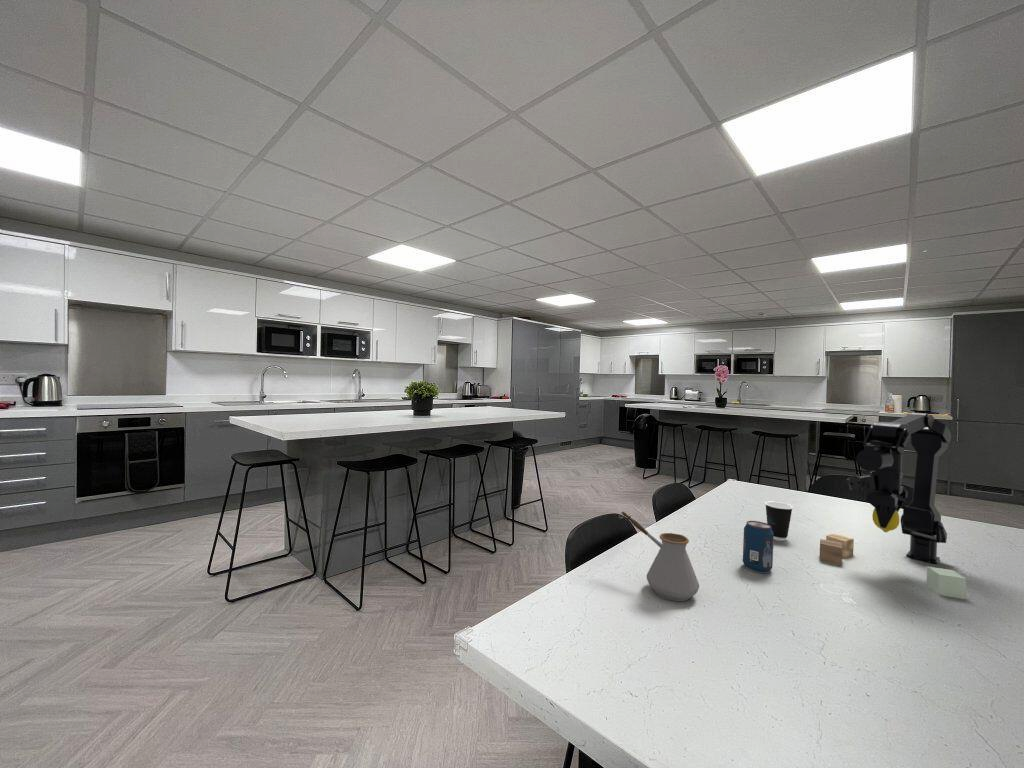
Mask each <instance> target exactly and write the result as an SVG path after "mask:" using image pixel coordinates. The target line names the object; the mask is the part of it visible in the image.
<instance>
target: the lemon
mask: <svg viewBox="0 0 1024 768" xmlns="http://www.w3.org/2000/svg"><path fill="white" fill-rule="evenodd" d="M871 517H872V521H873V523H874V525H875V526H876V527H877V528H879V529H880V530H881V531H882V532H883V533H888V532H890V531H894V530H896V529H897V528H899V527H898V526H899V525H900V515H899V511H898V512H897V510H896V511H895V513H894V515H893V516H892V518H891V520H890V522H889V523H888V525H887V527H886V528H882V527H880V524H879V520H878V516H877V513H876V510H875V508H873V510H872V516H871Z"/></svg>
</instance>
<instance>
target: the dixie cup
mask: <svg viewBox="0 0 1024 768" xmlns="http://www.w3.org/2000/svg"><path fill="white" fill-rule="evenodd" d="M764 505H765V514H766V523H767V524H769V525H770V526H771V529H772V531H773V533H774V536H773V541H774V540H776V541H780V542H785V541H787V538H788V536H789V531H790V530H789V529H790V524H791V523H790V522H791V517H792V512H793V508H794V506H792V504H788V503H785V502H779V501H772V500H771V501H765V502H764Z"/></svg>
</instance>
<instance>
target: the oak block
mask: <svg viewBox="0 0 1024 768" xmlns="http://www.w3.org/2000/svg"><path fill="white" fill-rule="evenodd" d="M854 539H855V538H852V537H849V536H845V535H842V534H838V533H830V534H827V535H825V540H829V541H834V542H839V543H842V558H845V559H846V558H848V557H849V558H850V557H852V556H854V541H855V540H854Z"/></svg>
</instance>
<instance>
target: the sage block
mask: <svg viewBox="0 0 1024 768" xmlns="http://www.w3.org/2000/svg"><path fill="white" fill-rule="evenodd" d="M966 582H967V578H966V577H964V576H963V575H962V574H960V573H958V572H957V571H955V570H953V569H947V568H941V567H933V566H926V583H925V585H926V587H928V589H930V590H931V591H933V592H934V593H935V594H937V595H939V596H944V597H950V598H951V597H952V598H956V599H962V600H966V589H967V588H966V585H967V583H966Z"/></svg>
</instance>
